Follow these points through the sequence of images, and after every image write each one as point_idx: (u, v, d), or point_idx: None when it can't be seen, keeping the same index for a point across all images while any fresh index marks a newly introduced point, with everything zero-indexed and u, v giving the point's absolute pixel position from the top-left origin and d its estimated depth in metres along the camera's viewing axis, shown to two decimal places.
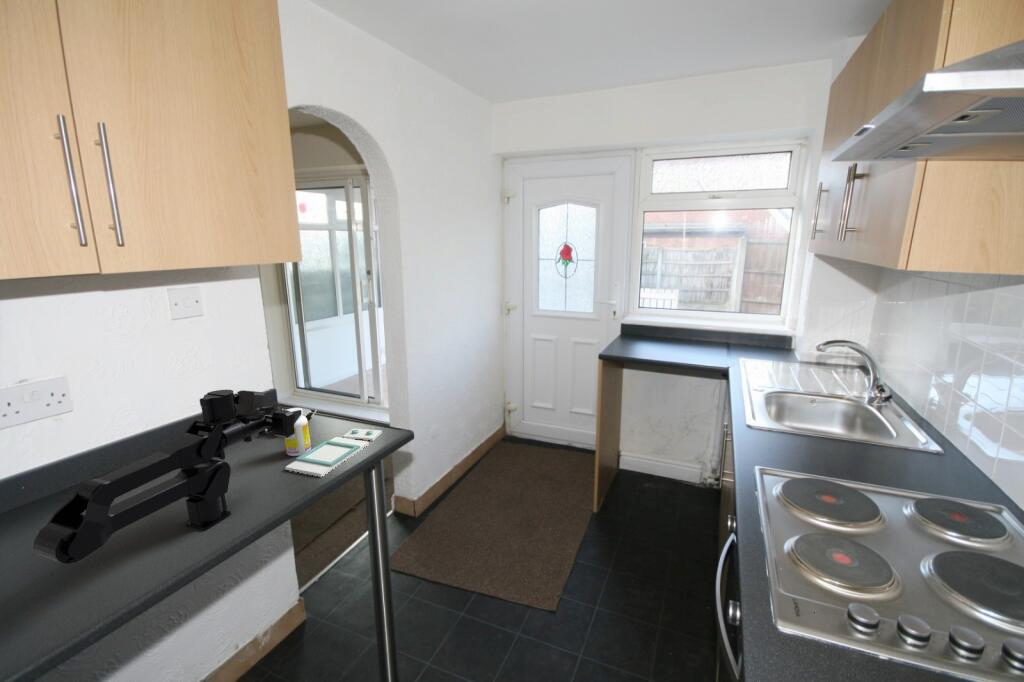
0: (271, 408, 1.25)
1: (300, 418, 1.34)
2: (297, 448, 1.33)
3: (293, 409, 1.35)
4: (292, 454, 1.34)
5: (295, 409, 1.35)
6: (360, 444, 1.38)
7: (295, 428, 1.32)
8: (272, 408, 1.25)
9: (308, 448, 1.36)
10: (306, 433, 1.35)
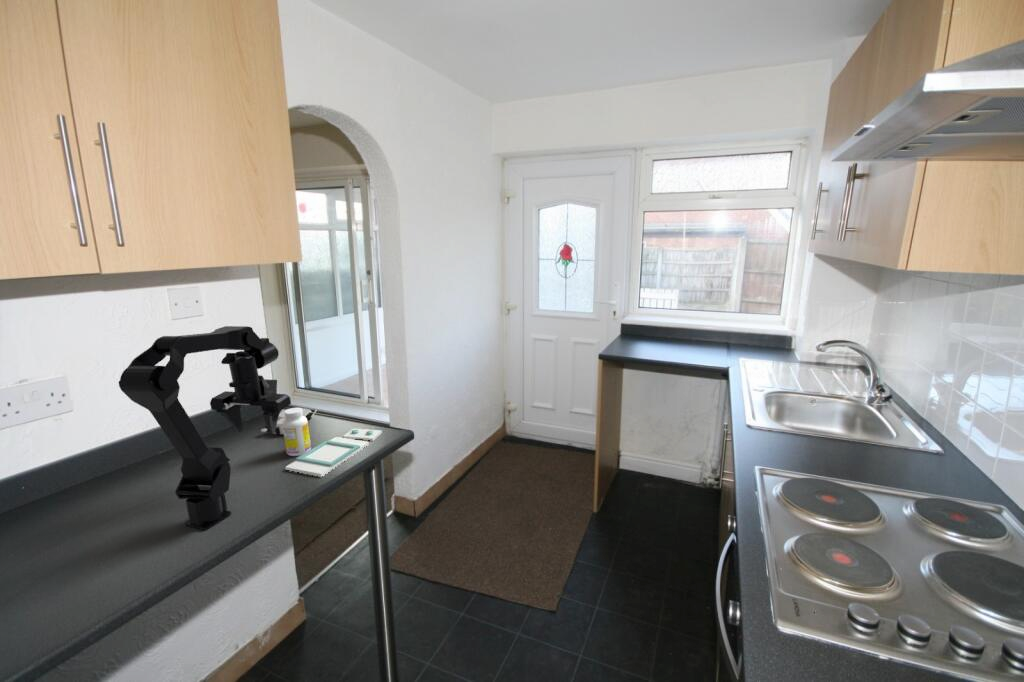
0: (241, 427, 1.21)
1: (300, 418, 1.34)
2: (297, 448, 1.33)
3: (293, 409, 1.35)
4: (292, 454, 1.34)
5: (295, 409, 1.35)
6: (360, 444, 1.38)
7: (295, 428, 1.32)
8: (241, 429, 1.21)
9: (308, 448, 1.36)
10: (306, 433, 1.35)
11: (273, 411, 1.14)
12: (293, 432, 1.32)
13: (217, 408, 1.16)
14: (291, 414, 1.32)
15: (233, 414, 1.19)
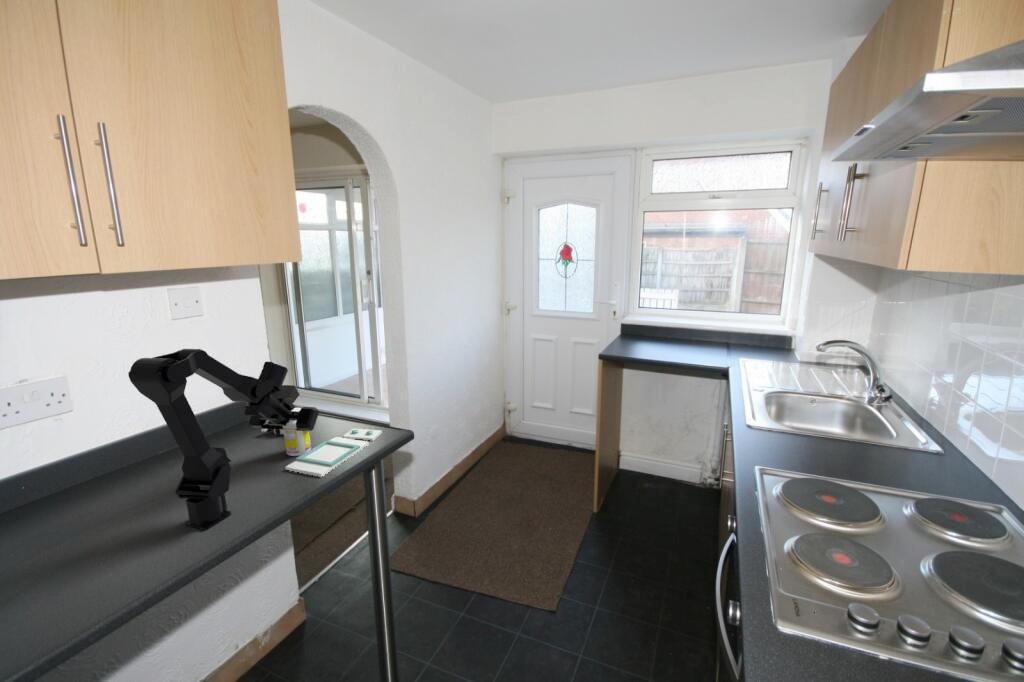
0: None
1: None
2: (297, 448, 1.33)
3: None
4: (292, 454, 1.34)
5: (295, 409, 1.35)
6: (360, 444, 1.38)
7: (295, 428, 1.32)
8: None
9: (308, 448, 1.36)
10: (306, 433, 1.35)
11: (309, 430, 1.27)
12: (293, 432, 1.32)
13: (258, 427, 1.30)
14: None
15: None
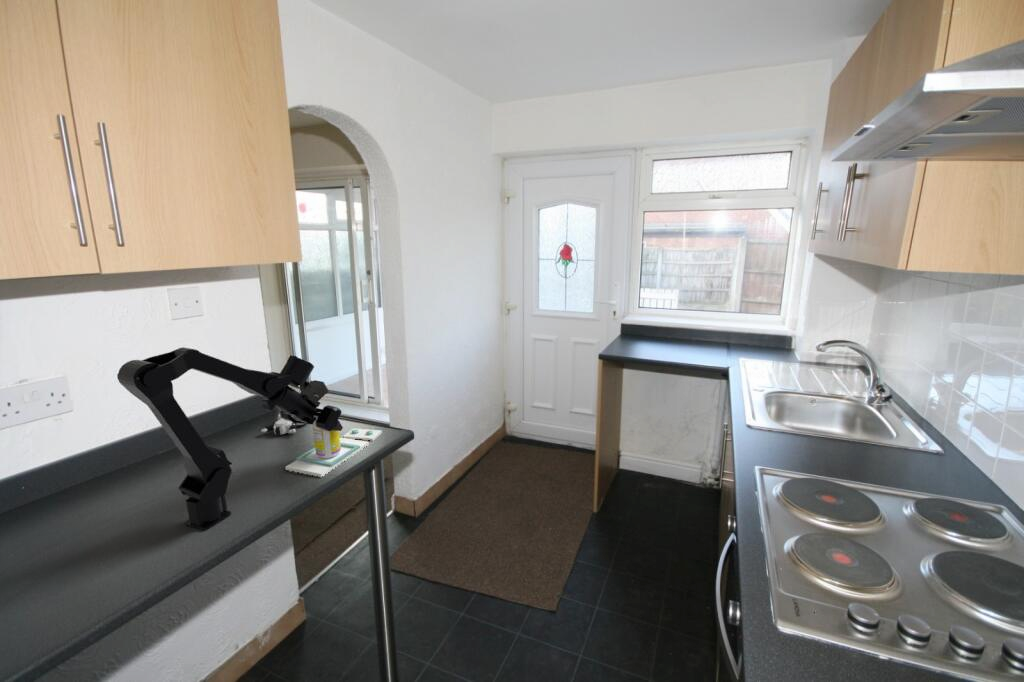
0: None
1: None
2: (323, 451, 1.29)
3: None
4: (319, 456, 1.30)
5: None
6: (360, 444, 1.38)
7: (322, 430, 1.28)
8: None
9: (335, 452, 1.31)
10: (333, 436, 1.30)
11: (327, 430, 1.21)
12: (320, 434, 1.28)
13: (288, 420, 1.28)
14: None
15: None
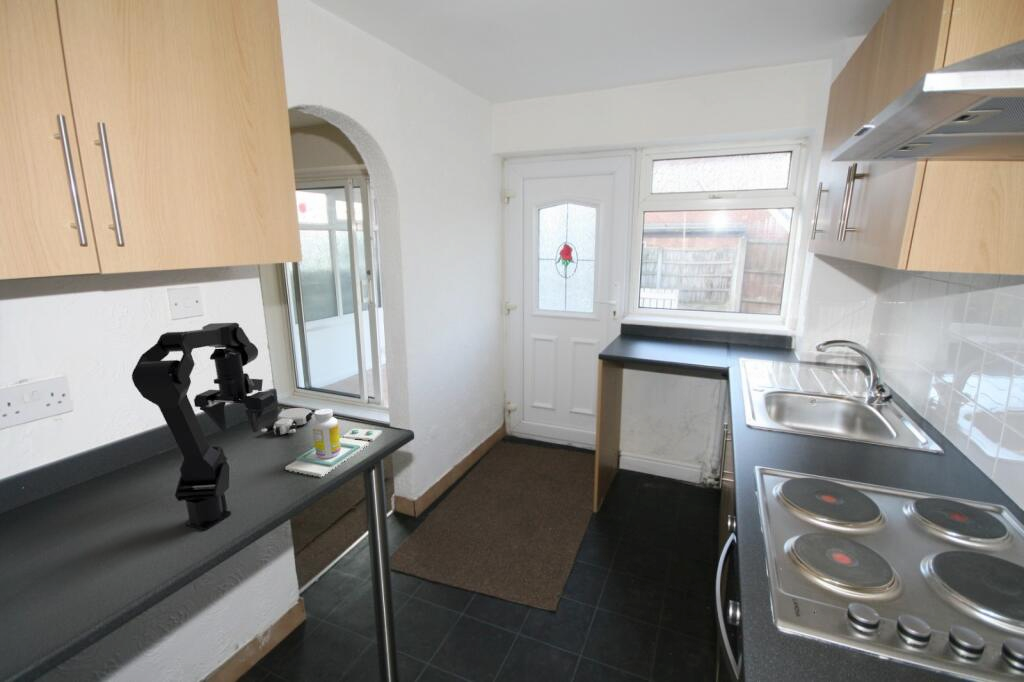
0: (224, 426, 1.21)
1: (328, 420, 1.29)
2: (323, 451, 1.29)
3: (324, 410, 1.31)
4: (319, 456, 1.30)
5: (326, 410, 1.31)
6: (360, 444, 1.38)
7: (321, 430, 1.28)
8: (224, 427, 1.21)
9: (336, 452, 1.31)
10: (333, 436, 1.30)
11: (256, 408, 1.14)
12: (320, 434, 1.28)
13: (201, 405, 1.16)
14: (319, 415, 1.28)
15: (217, 412, 1.19)
